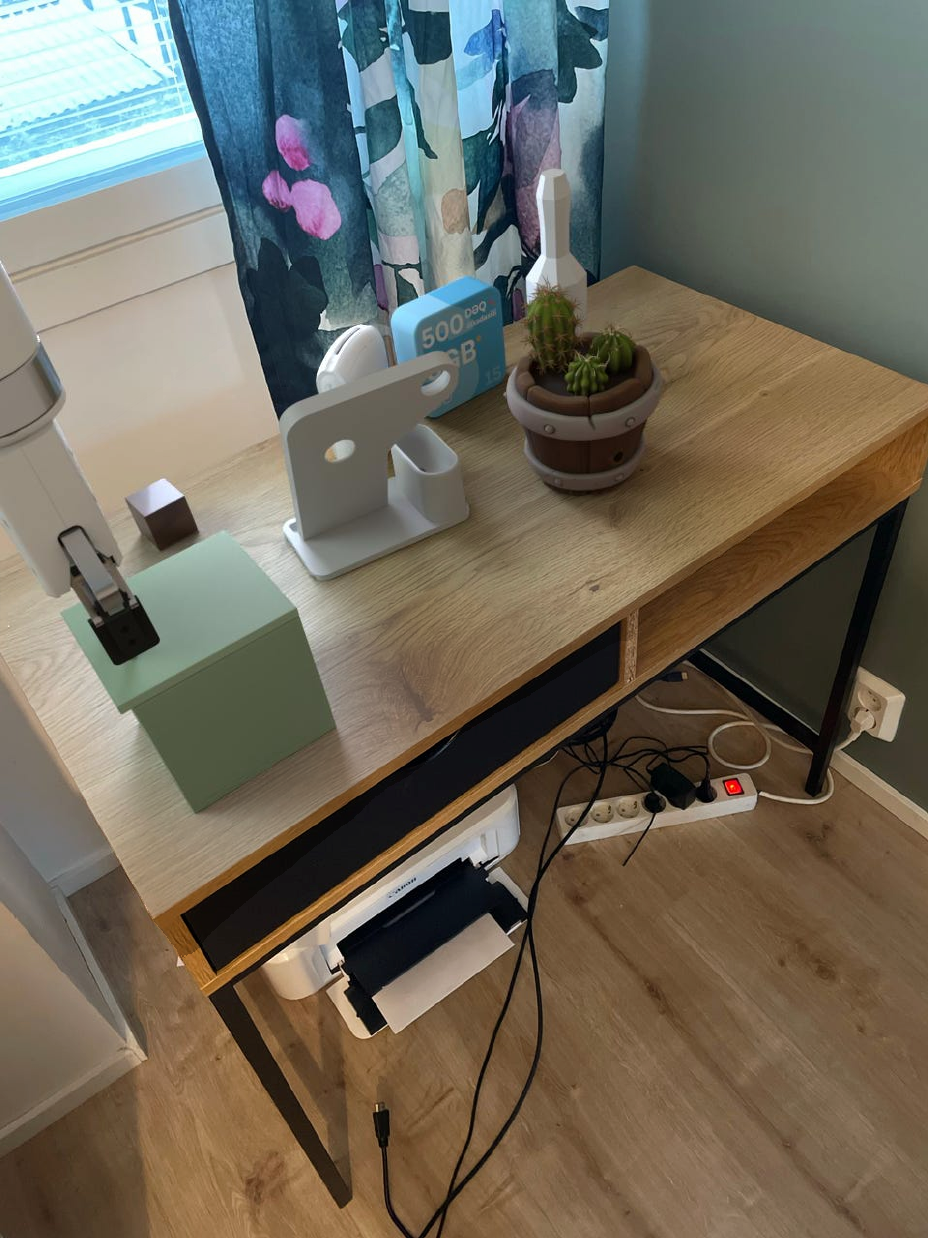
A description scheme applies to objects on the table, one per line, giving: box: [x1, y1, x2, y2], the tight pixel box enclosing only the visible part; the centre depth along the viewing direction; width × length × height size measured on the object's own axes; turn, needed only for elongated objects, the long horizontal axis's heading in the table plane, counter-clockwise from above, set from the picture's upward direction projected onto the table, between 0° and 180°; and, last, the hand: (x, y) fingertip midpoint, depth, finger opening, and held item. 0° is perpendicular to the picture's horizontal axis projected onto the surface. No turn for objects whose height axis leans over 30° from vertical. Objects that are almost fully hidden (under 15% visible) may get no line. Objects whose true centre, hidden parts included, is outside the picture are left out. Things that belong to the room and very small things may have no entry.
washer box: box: [130, 615, 337, 815], centre depth 69 cm, size 13×12×13 cm
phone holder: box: [278, 351, 470, 582], centre depth 83 cm, size 17×10×18 cm, turn 119°
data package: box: [390, 275, 507, 418], centre depth 100 cm, size 12×4×12 cm, turn 129°
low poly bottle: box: [525, 168, 588, 337], centre depth 99 cm, size 6×6×22 cm
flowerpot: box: [503, 275, 666, 496], centre depth 85 cm, size 14×15×20 cm
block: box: [124, 477, 199, 552], centre depth 91 cm, size 4×4×4 cm
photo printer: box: [315, 323, 390, 460], centre depth 96 cm, size 10×4×12 cm, turn 160°
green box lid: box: [59, 529, 300, 715], centre depth 62 cm, size 13×12×5 cm
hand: (110, 612), depth 60 cm, fingers open, 9 cm apart
